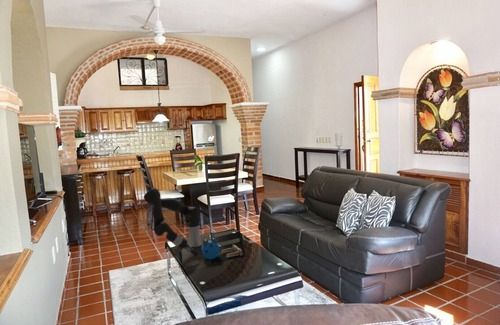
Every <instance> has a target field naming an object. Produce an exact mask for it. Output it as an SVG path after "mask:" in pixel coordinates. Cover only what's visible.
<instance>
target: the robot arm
mask: <svg viewBox="0 0 500 325" xmlns="http://www.w3.org/2000/svg"><path fill="white" fill-rule="evenodd" d="M161 197H162V196H161V192H160V190H159V189H158V188H156V187H152V188H149V190H148V191H147V192H146V193H145V194H144V195H143V199H144V201H145V202H146V203H149V204H151V205H153V208H152V218H153V222H154V223H153V231H154V233H155V235H156V236H158V237H160V236H162V235H164V234H165V233H166V235H165V238H166V240H168V242H170V243H172V245H173V246H175V247H177V248H178V249H179V250H183V249H184V250H185V251H187V252H189V253H190V254H193V255H194V256H198V254H199V252H197V251H196V250H195V249H194V248H198V247H200V246H202V242H201V241H202V240H201V232H200V219H201V218H200V210H199V208H198V207H196V206H188V205H186V204H182V203H181V201H179V200H177V199H175V198H172V197H162V198H161ZM162 208H165V209H167V210H169V211H172V212H175V213H179V214H180V215H183V216H184V217H187V218H190V221H189V222H187V228H188V238H189V239H188V240H189V244H188V240H187V239H185V238H184V237H182V236H181V235H180V234H178V233H177V232H175V231H174V230H173V229H172V228H171V227H170V225H169V224H168V223H167V222H165V217H164V214H163V210H162Z"/></svg>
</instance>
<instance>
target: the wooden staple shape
mask: <svg viewBox="0 0 500 325" xmlns="http://www.w3.org/2000/svg"><path fill="white" fill-rule="evenodd" d="M220 250H221V251H220V252H221V254H226V255H225V256H226V258H227V259H228V258H232V257H236V256H243V250H242V249H241V248H239V247H238V246H237V245H235V244H232V247H228V248H225V249H220Z"/></svg>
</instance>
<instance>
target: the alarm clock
mask: <svg viewBox="0 0 500 325" xmlns="http://www.w3.org/2000/svg"><path fill="white" fill-rule="evenodd" d="M220 250H221V249H220V246H219V244H218V240H217V239H216V238H215V237H214V238H211V239H204V240H202V244H201V254H202V255H203V257H204V258H206V259H208V260H214V259H216V258H217V257H218V256H219V255H220V252H221V251H220Z"/></svg>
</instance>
